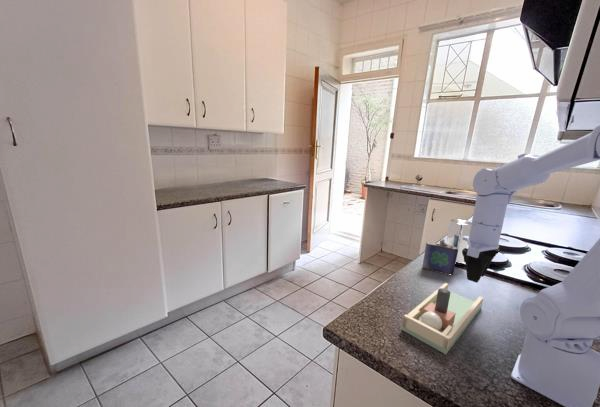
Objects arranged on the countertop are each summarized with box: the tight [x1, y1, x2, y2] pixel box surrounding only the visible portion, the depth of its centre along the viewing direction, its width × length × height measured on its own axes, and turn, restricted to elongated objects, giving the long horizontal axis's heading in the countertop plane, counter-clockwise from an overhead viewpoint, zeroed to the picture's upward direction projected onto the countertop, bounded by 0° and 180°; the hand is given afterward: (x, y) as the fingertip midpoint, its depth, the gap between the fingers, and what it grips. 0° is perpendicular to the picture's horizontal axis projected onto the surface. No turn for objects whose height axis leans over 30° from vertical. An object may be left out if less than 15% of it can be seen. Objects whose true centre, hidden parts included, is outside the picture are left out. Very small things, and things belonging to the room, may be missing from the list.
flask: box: [421, 239, 458, 276], centre depth 86 cm, size 9×3×11 cm, turn 61°
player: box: [423, 287, 456, 330], centre depth 58 cm, size 5×4×7 cm
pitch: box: [401, 282, 484, 355], centre depth 62 cm, size 9×24×4 cm, turn 132°
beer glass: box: [446, 218, 472, 263], centre depth 92 cm, size 7×7×15 cm
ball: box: [421, 311, 442, 331], centre depth 56 cm, size 4×4×4 cm
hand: (475, 277), depth 63 cm, fingers open, 4 cm apart
